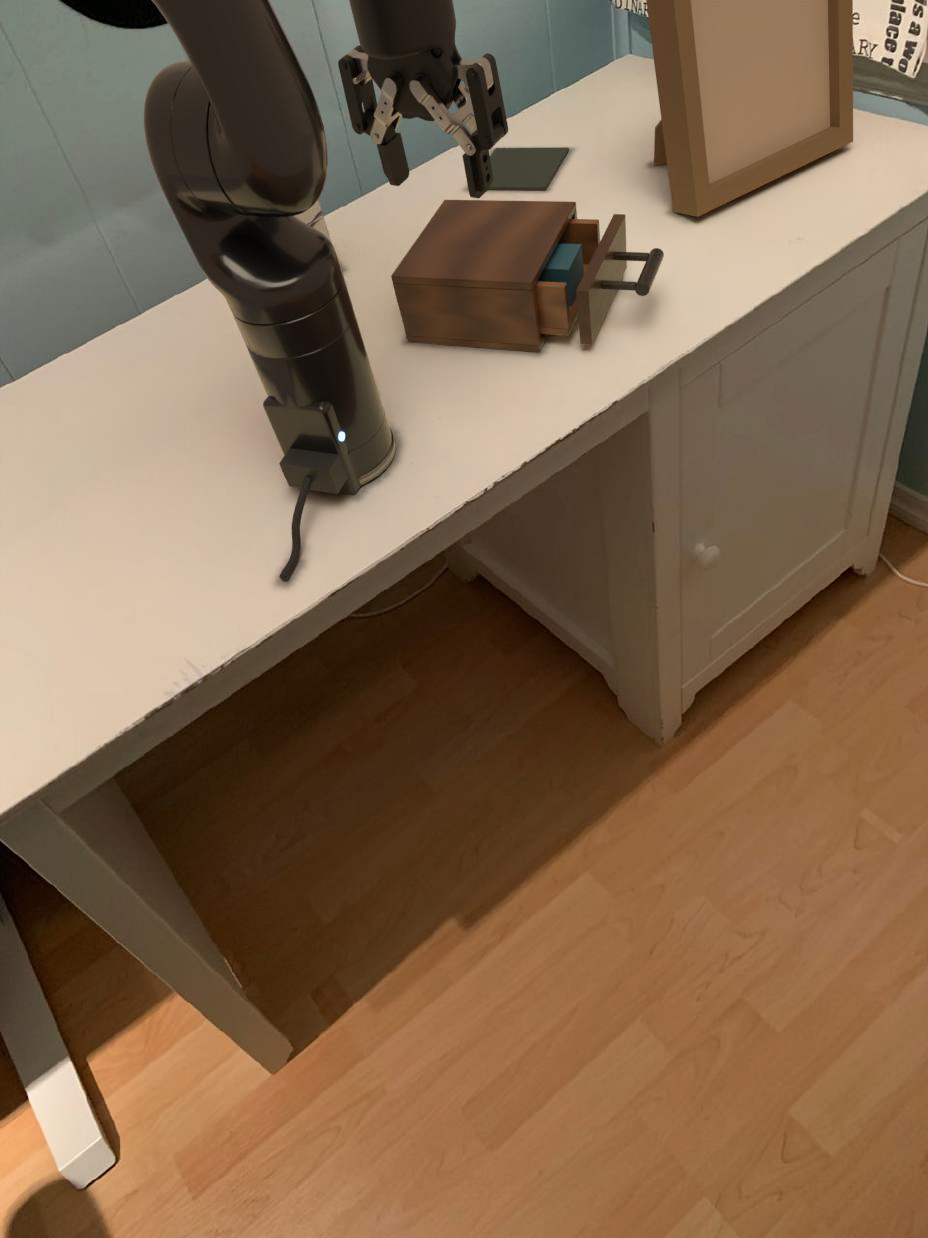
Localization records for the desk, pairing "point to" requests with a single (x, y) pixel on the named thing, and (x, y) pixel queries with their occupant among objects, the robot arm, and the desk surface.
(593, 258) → the drawer
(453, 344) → the cabinet
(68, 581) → the desk surface
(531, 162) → the mat
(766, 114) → the photo frame
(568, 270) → the card box
